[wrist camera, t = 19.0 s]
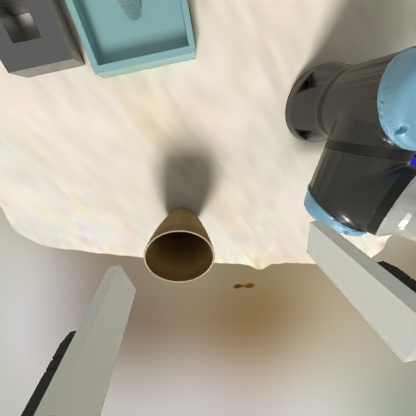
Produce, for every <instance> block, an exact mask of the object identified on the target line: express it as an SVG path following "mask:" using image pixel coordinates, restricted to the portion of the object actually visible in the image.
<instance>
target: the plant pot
mask: <svg viewBox="0 0 416 416" xmlns="http://www.w3.org/2000/svg"><path fill="white" fill-rule="evenodd" d="M214 259H215V253H214V249H213V246H212V244H211V241H210V239H209V236H208V234H207V232H206V230H205V228H204V227H203V225H202V223H201V222H200V220H199V219H198V218H197V217H196V215H195V214H194V213H193V212H191V211H190V210H188V209H184V208H180V209H177V210H175V211H173V212H172V213H171V214H169V215H168V216H167V217H166V218H165V219H164V221H163V222H162V223H161V224H160V225H159V227H158V228H157V230H156V231H155V232H154V234H153V236H152V237H151V239H150V241H149V243H148V245H147V246H146V248H145V251H144V262H145V265H146V267H147V268H148V270H149V271H150V272H151V273H152V274H154V275H155V276H157V277H158V278H160V279H163V280H166V281H170V282H186V281H191V280H195V279H197V278H199V277H201V276H202V275H204V274H205V273H206V272H207V271H208V270H209V269H210V268H211V266H212V265H213V262H214Z"/></svg>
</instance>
